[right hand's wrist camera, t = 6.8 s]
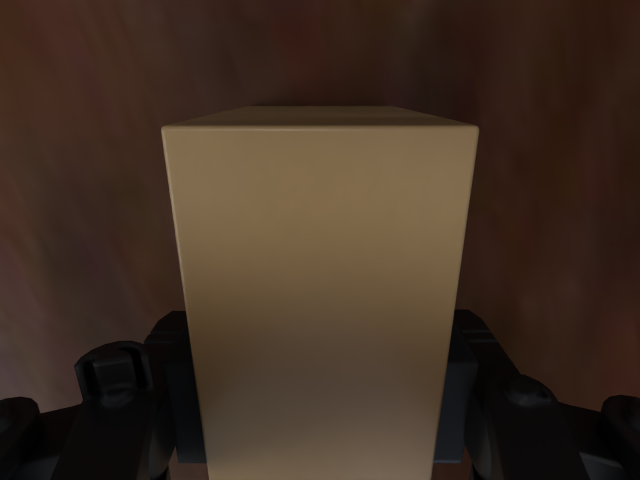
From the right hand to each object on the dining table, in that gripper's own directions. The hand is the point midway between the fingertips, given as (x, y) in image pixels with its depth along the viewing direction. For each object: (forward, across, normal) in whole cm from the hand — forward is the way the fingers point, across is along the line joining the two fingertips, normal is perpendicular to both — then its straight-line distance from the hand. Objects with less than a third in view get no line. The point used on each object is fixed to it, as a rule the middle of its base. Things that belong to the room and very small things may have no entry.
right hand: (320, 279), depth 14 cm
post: (+1, 0, -23) cm, 23 cm away
